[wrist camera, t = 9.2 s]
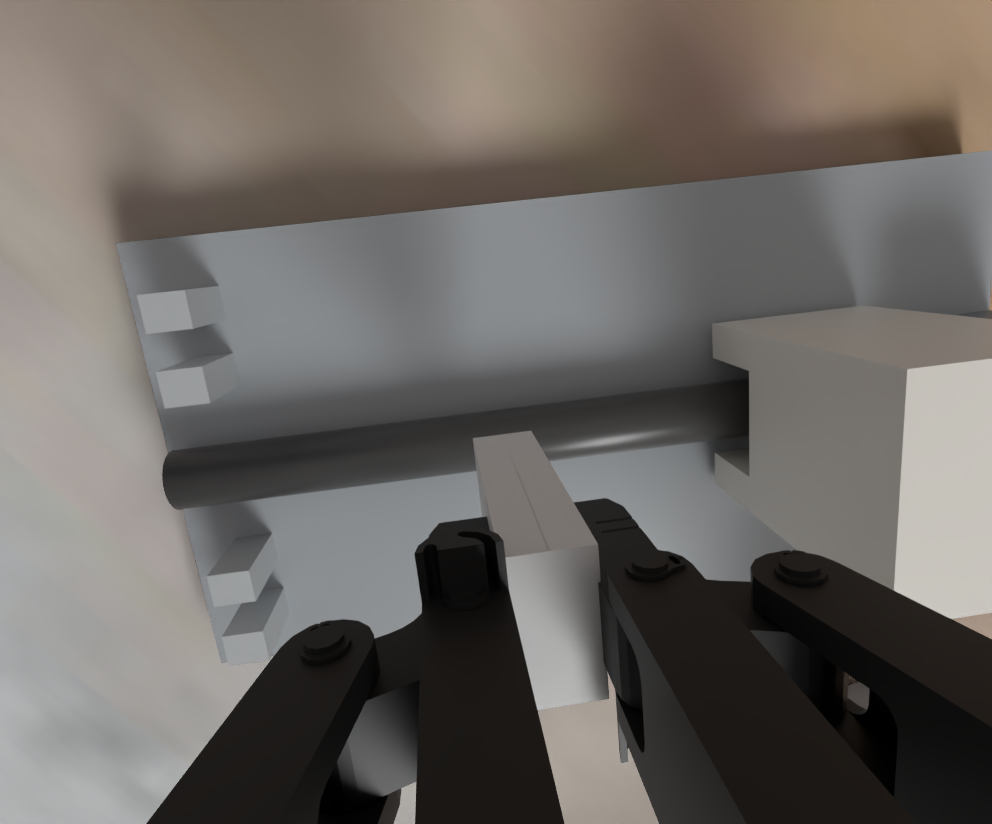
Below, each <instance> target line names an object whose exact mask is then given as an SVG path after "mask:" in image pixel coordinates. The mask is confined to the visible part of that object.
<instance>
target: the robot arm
mask: <svg viewBox="0 0 992 824" xmlns="http://www.w3.org/2000/svg"><path fill="white" fill-rule="evenodd" d="M473 445H474V453H475V462H476V470H477V478H478V487H479V495H480V503H481V512H482V517H479V518H472V519H465V520H457V521H450V522H443V523H439V524H438V525H437V526H436V527H435V528H434V530H433V531H432V532H431V533H430V534H429V538H427V539H426V540H425V541H423V542H422V543H421V544H420V545H418V547H417V549H416V551H415V553H414V555H415V561H416V568H417V575H418V581H419V588H420V594H421V601H422V613H421V614H420V615H419V616H418V617H417V618H416V619H415V620H414V621H413V622H411V623H409V624H408V625H406V626H404V627H403V628H401V629H398V630H396V631H394V632H391V633H389V634H386V635H383V636H380V637H378V638H374V634H373V632H372V630H371V628H370V627H369V626H368V625H366V624H364V623H362V622H360V621H356V620H347V619H341V620H333V621H332V620H328V621H324V622H320V624H318V623H317V624H314V625H312V626H309V627H308V628H306V629H304V630H303V631H301V632H299V633H297V634H296V635H294V636H292V637H291V638H290V639H289V640H288V641H287V642H286V643H285V644H284V645H283V646H282V647H281V648H280V649H279V650H278V652H277V653H276V654H275V656H274V657H273V658H272V659H271V661H270V662H269V663H268V665H267V666H266V667H265V669H264V670H263V671H262V673H261V674H260V675H259V677H258V678H257V679H256V680H255V682H254V683H253V684H252V686H251V687H250V688H249V690H248V691H247V692H246V694H245V695H244V696H243V698H242V699H241V700H240V702H239V703H238V704H237V705H236V707H235V708H234V709H233V711H232V712H231V713H230V715H229V716H228V717H227V719H226V720H225V721H224V723H223V724H222V725H221V726H220V728H219V729H218V730H217V732H216V733H215V734H214V736H213V737H212V738H211V740H210V741H209V742H208V744H207V745H206V746H205V747H204V749H203V750H202V751H201V753H200V754H199V755H198V757H197V758H196V759H195V761H194V762H193V763H192V765H191V766H190V767H189V768H188V770H187V771H186V772H185V774H184V775H183V776H182V778H181V779H180V780H179V782H178V783H177V784H176V786H175V787H174V788H173V789H172V791H171V792H170V793H169V795H168V796H167V797H166V799H165V800H164V801H163V803H162V804H161V805H160V807H159V808H158V809H157V811H156V812H155V813H154V814H153V816H152V817H151V818H150V820H149V821H148V822H147V824H393V823H394V820H395V817H396V814H397V811H398V808H399V805H400V796H401V788H403V787H405V786H407V785H409V784H411V783H414V782H416V781H417V783H416V817H415V824H564V820H563V816H562V812H561V808H560V803H559V799H558V795H557V791H556V786H555V782H554V778H553V774H552V770H551V765H550V761H549V757H548V753H547V748H546V744H545V740H544V736H543V732H542V727H541V723H540V719H539V715H538V711H537V710H542V709H548V708H554V707H560V706H567V705H573V704H579V703H585V702H591V701H597V700H604V699H609V690H608V676H607V671H608V674H609V676H610V678H611V681H612V683H613V685H614V688H615V691H616V706H617V720H618V735H619V750H620V758H621V763H624V762H628V752H627V749H628V748H629V749H630V752H631V754H632V757H633V759H634V762H635V764H636V767H637V769H638V772H639V774H640V777H641V779H642V782H643V784H644V787H645V789H646V792H647V794H648V797H649V799H650V802H651V804H652V807H653V809H654V812H655V814H656V817H657V819H658V822H659V824H992V639H990V638H988V637H986V636H984V635H982V634H980V633H978V632H976V631H974V630H972V629H970V628H968V627H966V626H964V625H962V624H960V623H958V622H956V621H954V620H952V619H950V618H948V617H946V616H944V615H942V614H940V613H938V612H936V611H934V610H932V609H930V608H928V607H926V606H924V605H922V604H920V603H918V602H916V601H914V600H912V599H910V598H908V597H906V596H904V595H902V594H900V593H898V592H896V591H894V590H892V589H890V588H888V587H886V586H884V585H882V584H880V583H878V582H876V581H874V580H872V579H870V578H868V577H866V576H864V575H862V574H860V573H858V572H856V571H854V570H852V569H850V568H848V567H846V566H844V565H842V564H840V563H838V562H836V561H833V560H831V559H828V558H825V557H823V556H820V555H816V554H810V553H806V552H804V551H798V550H792V551H790V550H783V551H779V552H774V553H768V554H765V555H763V556H761V557H759V558H757V559H755V560H754V562H753V563H752V565H751V567H750V582H746V581H719V580H708V579H705V578H704V577H703V576H702V574H701V573H700V572H699V571H698V570H697V569H696V567H695V566H694V565H693V564H692V563H691V562H690V561H688V560H687V559H686V558H684V557H683V556H680V555H678V554H675V553H672V552H669V551H662V550H658V549H657V548H656V547H655V545H654V544H653V543H652V542H651V540H650V539H649V538H648V537H647V535H646V534H645V533H644V532H643V530H642V529H641V528H639V525H638V524H637V523H636V521H635V520H634V519H632V516H631V515H630V514H629V513H628V511H627V510H626V509H625V507H624V506H622V505H620V504H618V503H616V502H614V501H612V500H610V499H607V498H602V499H595V500H588V501H581V502H573V501H572V499H571V497H570V496H569V494H568V492H567V491H566V489H565V487H564V486H563V484H562V482H561V480H560V479H559V477H558V475H557V474H556V472H555V470H554V469H553V467H552V465H551V464H550V462H549V460H548V458H547V457H546V455H545V453H544V452H543V450H542V448H541V447H540V445H539V443H538V442H537V440H536V438H535V436H534V435H533V433H532V431H525V432H517V433H509V434H501V435H494V436H486V437H478V438H473ZM848 674H849V675H850V676H852V677H853V678H855V679H856V680H857V681H859V682H860V683H862V684H863V685H865V686H866V687H868V688H869V705H868V708H867V709H864V708H862V707H861V706H859V705H857V704H856V703H854V702H853V701H852V700H850V699H849V698H848Z"/></svg>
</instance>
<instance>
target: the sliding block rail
mask: <svg viewBox="0 0 992 824" xmlns="http://www.w3.org/2000/svg"><path fill="white" fill-rule="evenodd" d="M116 247H117V250H118V254H119V258H120V262H121V266H122V270H123V274H124V278H125V282H126V286H127V290H128V294H129V298H130V302H131V306H132V310H133V314H134V318H135V322H136V326H137V330H138V334H139V338H140V342H141V346H142V350H143V354H144V358H145V362H146V366H147V369H148V373H149V377H150V381H151V385H152V389H153V393H154V397H155V401H156V405H157V409H158V413H159V417H160V421H161V425H162V429H163V433H164V437H165V441H166V445H167V449H168V455H167V456H166V458H165V461H164V465H163V474H162V476H163V487H164V491H165V494H166V497H167V499H168V501H169V503H170V504H171V505H172V506H173V507H174V508H175V509H178V510H181V509H183V512H184V516H185V520H186V524H187V528H188V532H189V536H190V540H191V544H192V548H193V552H194V556H195V560H196V564H197V568H198V572H199V576H200V580H201V584H202V588H203V592H204V596H205V600H206V603H207V607H208V611H209V615H210V619H211V623H212V627H213V631H214V635H215V639H216V643H217V647H218V651H219V655H220V659H221V663H225V662H228V665H229V666H233V665H240V664H247V663H254V662H261V661H268V660H270V658H271V656H274V655H275V654H276V653H277V652H278V650H279V649H280V648H281V647H282V646H283V645H284V644H285V643H286V642H287V641H288V640H289V639H290V638H291V637H292V636H294V635H296V634H297V633H299V632H301V631H303V630H304V629H306V628H308V627H309V626H312V625H314V624H317V623H318V624H320V622H324V621H328V620H332V621H333V620H341V619H347V620H356V621H360V622H362V623H364V624H366V625H368V626H369V627H370V628H371V630H372V632H373V634H374V638H378V637H380V636H383V635H386V634H389V633H391V632H394V631H396V630H398V629H401V628H403V627H404V626H406V625H408V624H409V623H411V622H413V621H414V620H415V619H416V618H417V617H418V616H419V615H420V614H421V613H422V601H421V594H420V588H419V581H418V575H417V568H416V561H415V555H414V553H415V551H416V549H417V547H418V545H420V544H421V543H422V542H423V541H425V540H426V539H427V538H429V534H430V533H431V532H432V531H433V530H434V528H435V527H436V526H437V525H438V524H439V523H443V522H450V521H457V520H465V519H472V518H479V517H482V512H481V503H480V495H479V487H478V478H477V470H476V462H475V453H474V445H473V438H478V437H486V436H494V435H501V434H509V433H517V432H525V431H532V433H533V435H534V436H535V438H536V440H537V442H538V443H539V445H540V447H541V448H542V450H543V452H544V453H545V455H546V457H547V458H548V460H549V462H550V464H551V465H552V467H553V469H554V470H555V472H556V474H557V475H558V477H559V479H560V480H561V482H562V484H563V486H564V487H565V489H566V491H567V492H568V494H569V496H570V497H571V499H572V501H573V502H581V501H588V500H595V499H602V498H607V499H610V500H612V501H614V502H616V503H618V504H620V505H622V506H624V507H625V509H626V510H627V511H628V513H629V514H630V515H631V516H632V519H634V520H635V521H636V523H637V524H638V525H639V528H641V529H642V530H643V532H644V533H645V534H646V535H647V537H648V538H649V539H650V540H651V542H652V543H653V544H654V545H655V547H656V548H657V549H658V550H662V551H669V552H672V553H675V554H678V555H680V556H683V557H684V558H686V559H687V560H688V561H690V562H691V563H692V564H693V565H694V566H695V567H696V569H697V570H698V571H699V572H700V573H701V574H702V576H703V577H704V578H705V579H708V580H719V581H746V582H750V567H751V565H752V563H753V562H754V560H755V559H757V558H759V557H761V556H763V555H765V554H768V553H774V552H779V551H783V550H790V551H792V550H796V549H795V548H794V547H792V546H791V545H790V544H789V543H787V542H786V541H785V540H784V539H783V538H781V537H780V536H779V535H778V534H776V533H775V532H774V531H773V530H772V529H770V528H769V527H768V526H767V525H765V524H764V523H763V522H762V521H761V520H759V519H758V518H757V517H756V516H754V515H753V514H752V513H751V512H750V511H748V510H747V509H746V508H745V507H743V506H742V505H741V504H740V503H739V502H737V501H736V500H735V499H734V498H732V497H731V496H730V495H729V494H728V493H726V492H725V491H724V490H723V489H721V488H720V487H719V486H718V485H717V484H715V452H722V451H730V450H738V449H745V448H749V371H748V370H745V369H742V368H739V367H737V366H734V365H731V364H728V363H726V362H723V361H720V360H717V359H714V358H713V346H712V324H713V323H721V322H729V321H738V320H746V319H755V318H763V317H771V316H780V315H788V314H797V313H805V312H813V311H822V310H830V309H839V308H847V307H855V306H873V307H882V308H892V309H901V310H911V311H920V312H929V313H939V314H948V315H958V316H967V317H976V318H986V319H992V311H990V310H989V302H990V291H991V280H992V151H983V152H973V153H964V154H955V155H945V156H936V157H926V158H917V159H907V160H898V161H888V162H879V163H869V164H860V165H851V166H841V167H832V168H822V169H813V170H803V171H794V172H784V173H775V174H765V175H756V176H747V177H737V178H728V179H718V180H709V181H699V182H690V183H680V184H671V185H661V186H652V187H643V188H633V189H624V190H614V191H605V192H595V193H586V194H576V195H567V196H557V197H548V198H538V199H529V200H520V201H510V202H501V203H491V204H482V205H472V206H463V207H453V208H444V209H434V210H425V211H416V212H406V213H397V214H387V215H378V216H368V217H359V218H349V219H340V220H330V221H321V222H312V223H302V224H293V225H283V226H274V227H264V228H255V229H245V230H236V231H226V232H217V233H208V234H198V235H189V236H179V237H170V238H160V239H151V240H141V241H132V242H122V243H116Z"/></svg>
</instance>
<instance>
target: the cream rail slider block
mask: <svg viewBox="0 0 992 824" xmlns="http://www.w3.org/2000/svg"><path fill="white" fill-rule="evenodd" d="M712 346H713V358H714V359H717V360H720V361H723V362H726V363H728V364H731V365H734V366H737V367H739V368H742V369H745V370H748V371H749V448H745V449H738V450H730V451H722V452H715V484H717V485H718V486H719V487H720V488H721V489H723V490H724V491H725V492H726V493H728V494H729V495H730V496H731V497H732V498H734V499H735V500H736V501H737V502H739V503H740V504H741V505H742V506H743V507H745V508H746V509H747V510H748V511H750V512H751V513H752V514H753V515H754V516H756V517H757V518H758V519H759V520H761V521H762V522H763V523H764V524H765V525H767V526H768V527H769V528H770V529H772V530H773V531H774V532H775V533H776V534H778V535H779V536H780V537H781V538H783V539H784V540H785V541H786V542H787V543H789V544H790V545H791V546H792V547H794V548H795V549H796V550H798V551H804V552H806V553H810V554H816V555H820V556H823V557H825V558H828V559H831V560H833V561H836V562H838V563H840V564H842V565H844V566H846V567H848V568H850V569H852V570H854V571H856V572H858V573H860V574H862V575H864V576H866V577H868V578H870V579H872V580H874V581H876V582H878V583H880V584H882V585H884V586H886V587H888V588H890V589H892V590H894V591H896V592H898V593H900V594H902V595H904V596H906V597H908V598H910V599H912V600H914V601H916V602H918V603H920V604H922V605H924V606H926V607H928V608H930V609H932V610H934V611H936V612H938V613H940V614H942V615H944V616H946V617H948V618H950V619H953V618H960V617H967V616H973V615H980V614H987V613H992V319H986V318H976V317H967V316H958V315H948V314H939V313H929V312H920V311H911V310H901V309H892V308H882V307H873V306H855V307H847V308H839V309H830V310H822V311H813V312H805V313H797V314H788V315H780V316H771V317H763V318H755V319H746V320H738V321H729V322H721V323H713V324H712Z"/></svg>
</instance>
